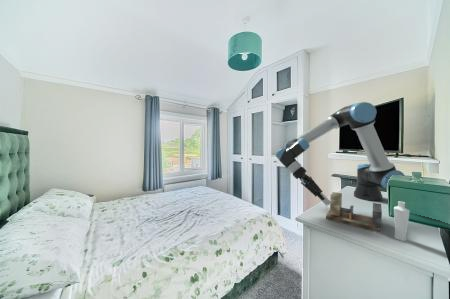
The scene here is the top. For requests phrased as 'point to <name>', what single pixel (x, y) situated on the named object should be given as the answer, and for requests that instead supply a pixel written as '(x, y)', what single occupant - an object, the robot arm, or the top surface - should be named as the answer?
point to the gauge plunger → (336, 204)
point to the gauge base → (361, 219)
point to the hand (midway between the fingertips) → (328, 204)
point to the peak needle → (350, 212)
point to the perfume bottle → (401, 221)
